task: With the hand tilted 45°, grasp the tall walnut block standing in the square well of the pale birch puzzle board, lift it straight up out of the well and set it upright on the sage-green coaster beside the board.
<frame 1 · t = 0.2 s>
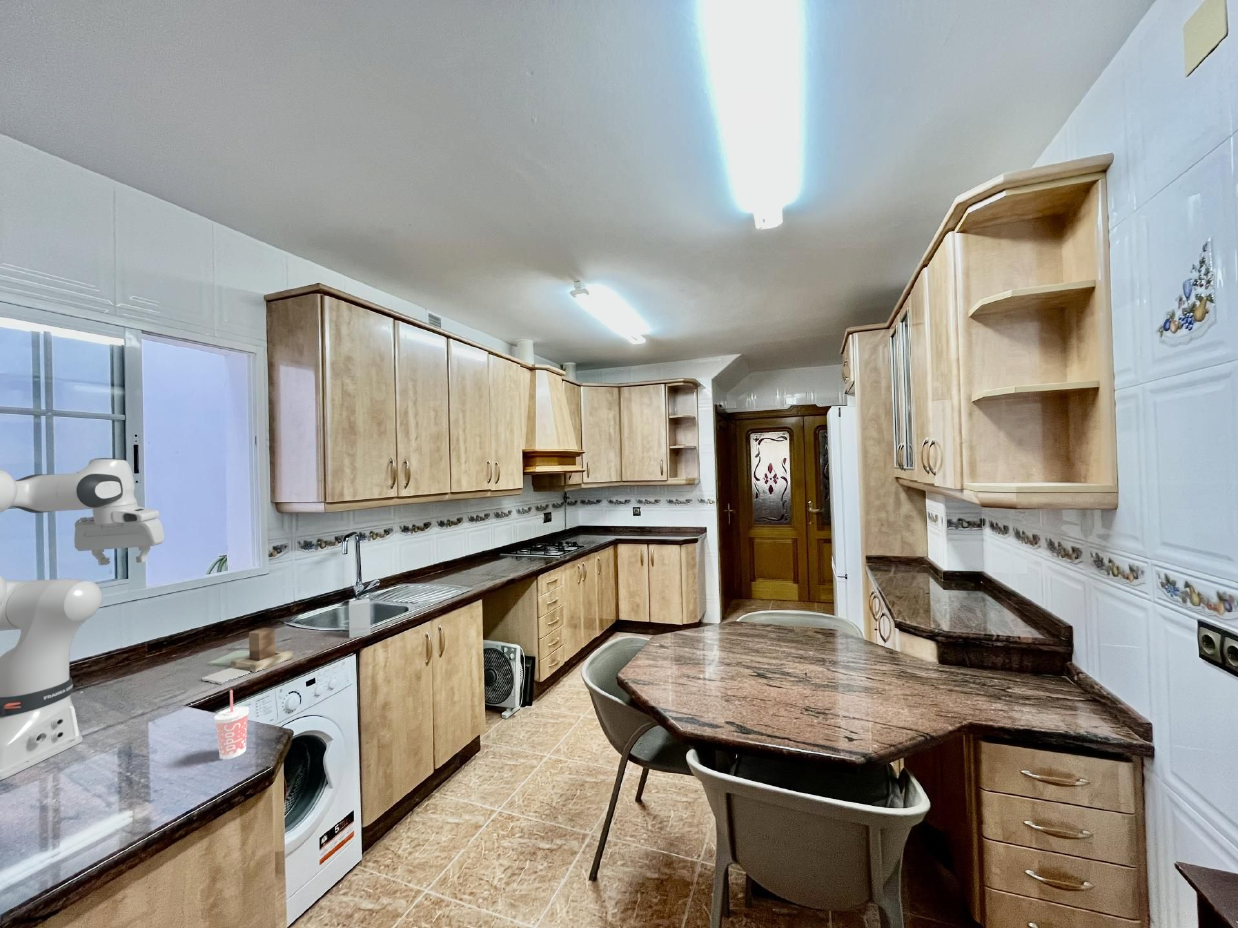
hand: (123, 563, 138), 39 cm above the counter, tool pointing down, fingers open, 8 cm apart
supplement box: (360, 634, 189), on the counter
beverage cup: (233, 754, 108), on the counter
coaster: (237, 658, 167), on the counter
puzzle board: (262, 663, 161), on the counter
walnut block: (262, 647, 161), in the puzzle board
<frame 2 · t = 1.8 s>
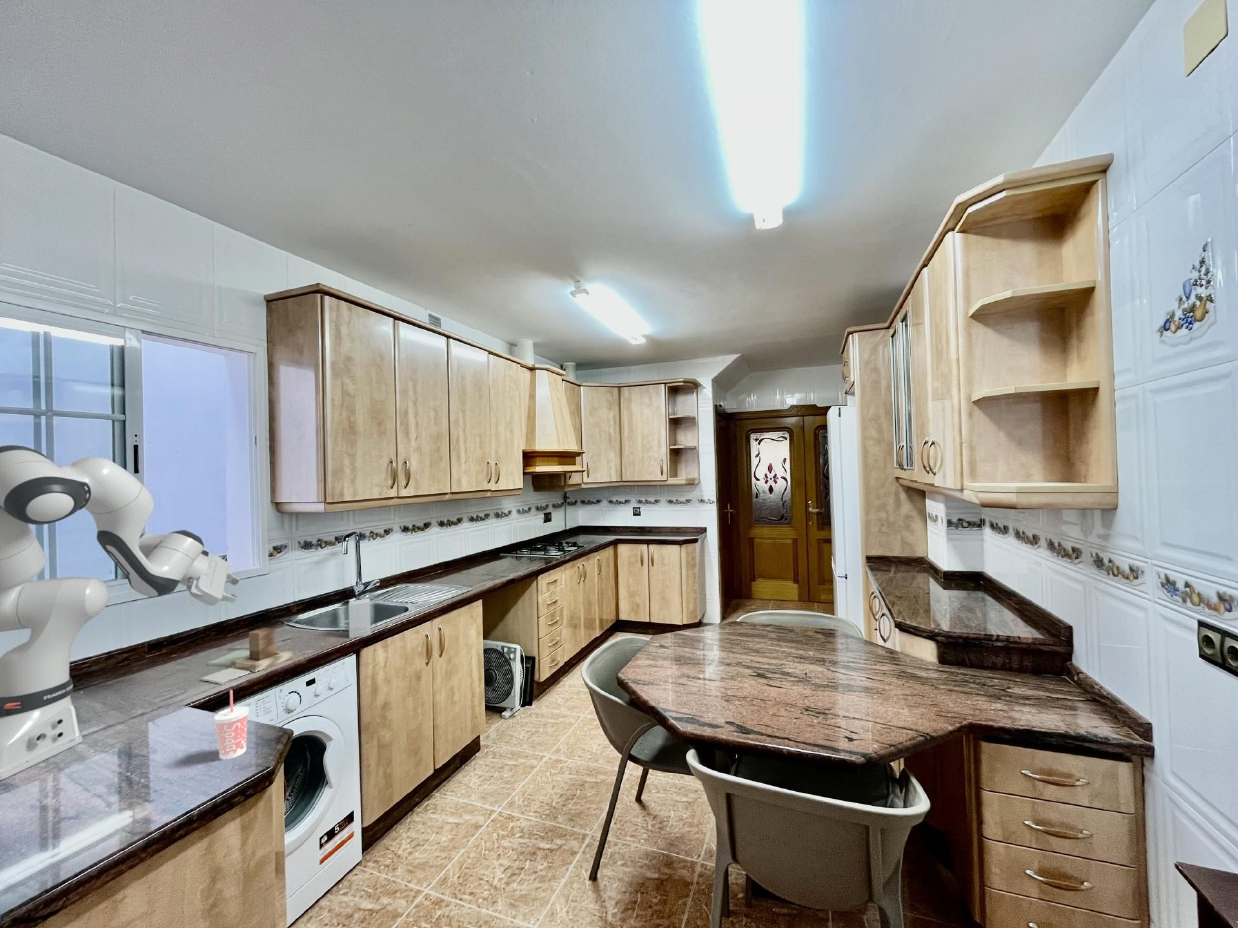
hand: (236, 591, 155), 26 cm above the counter, tool tilted 50°, fingers open, 8 cm apart
nothing on the counter moved.
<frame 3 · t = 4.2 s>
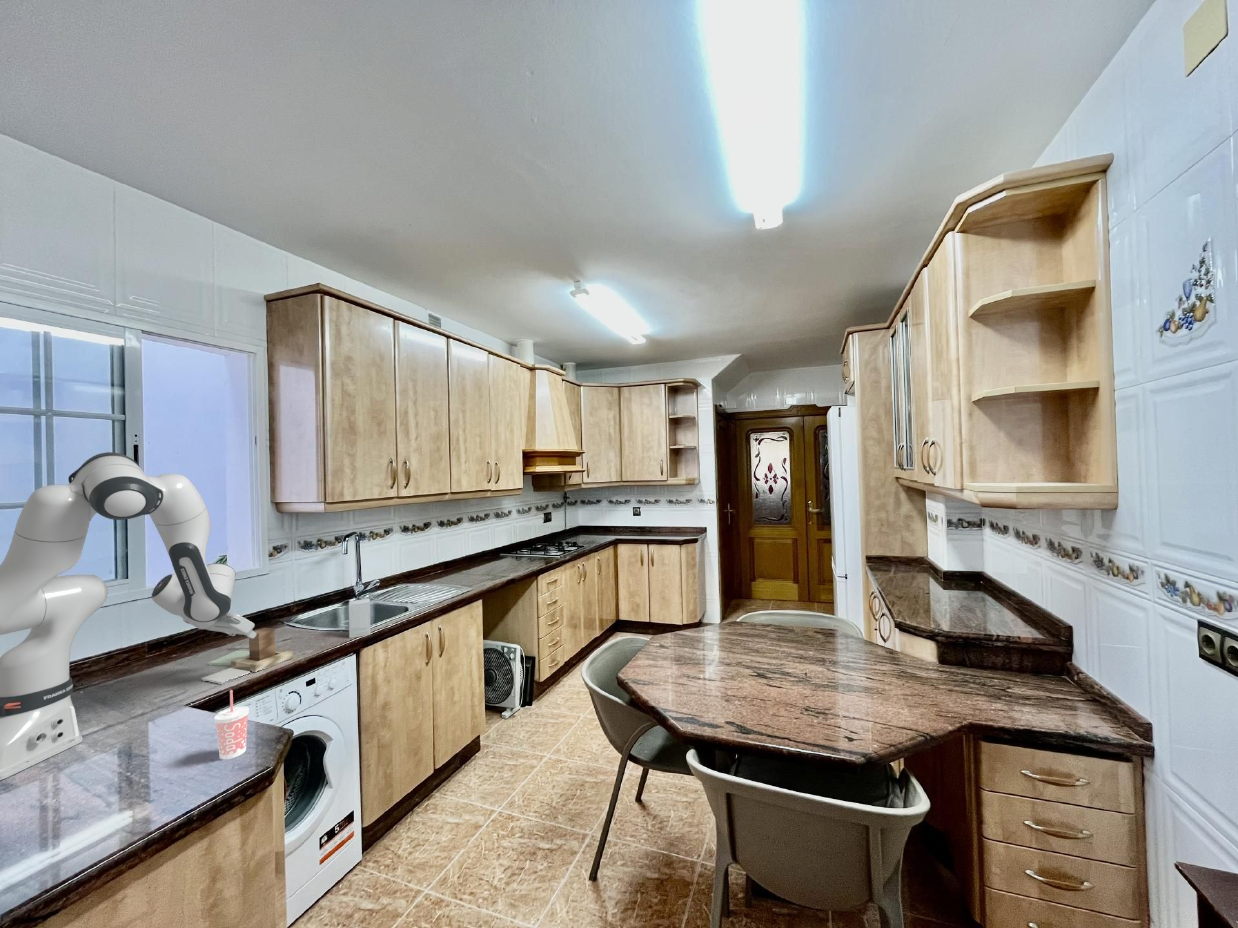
hand: (244, 634, 156), 12 cm above the counter, tool tilted 45°, fingers open, 8 cm apart
nothing on the counter moved.
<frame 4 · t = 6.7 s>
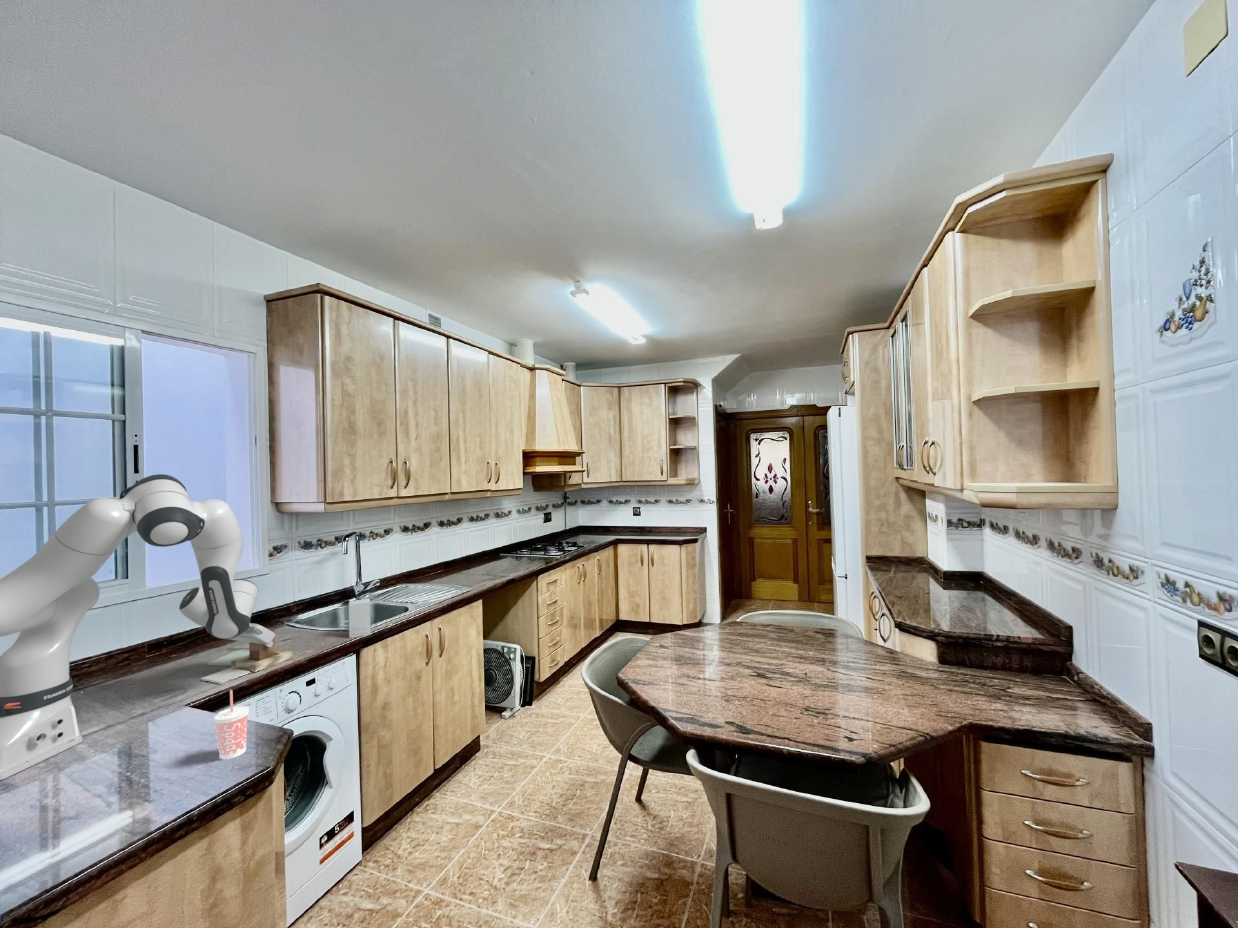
hand: (264, 644, 162), 6 cm above the counter, tool tilted 45°, fingers closed on walnut block, 5 cm apart
walnut block: (262, 647, 161), in the puzzle board, touching gripper
everything else where it was.
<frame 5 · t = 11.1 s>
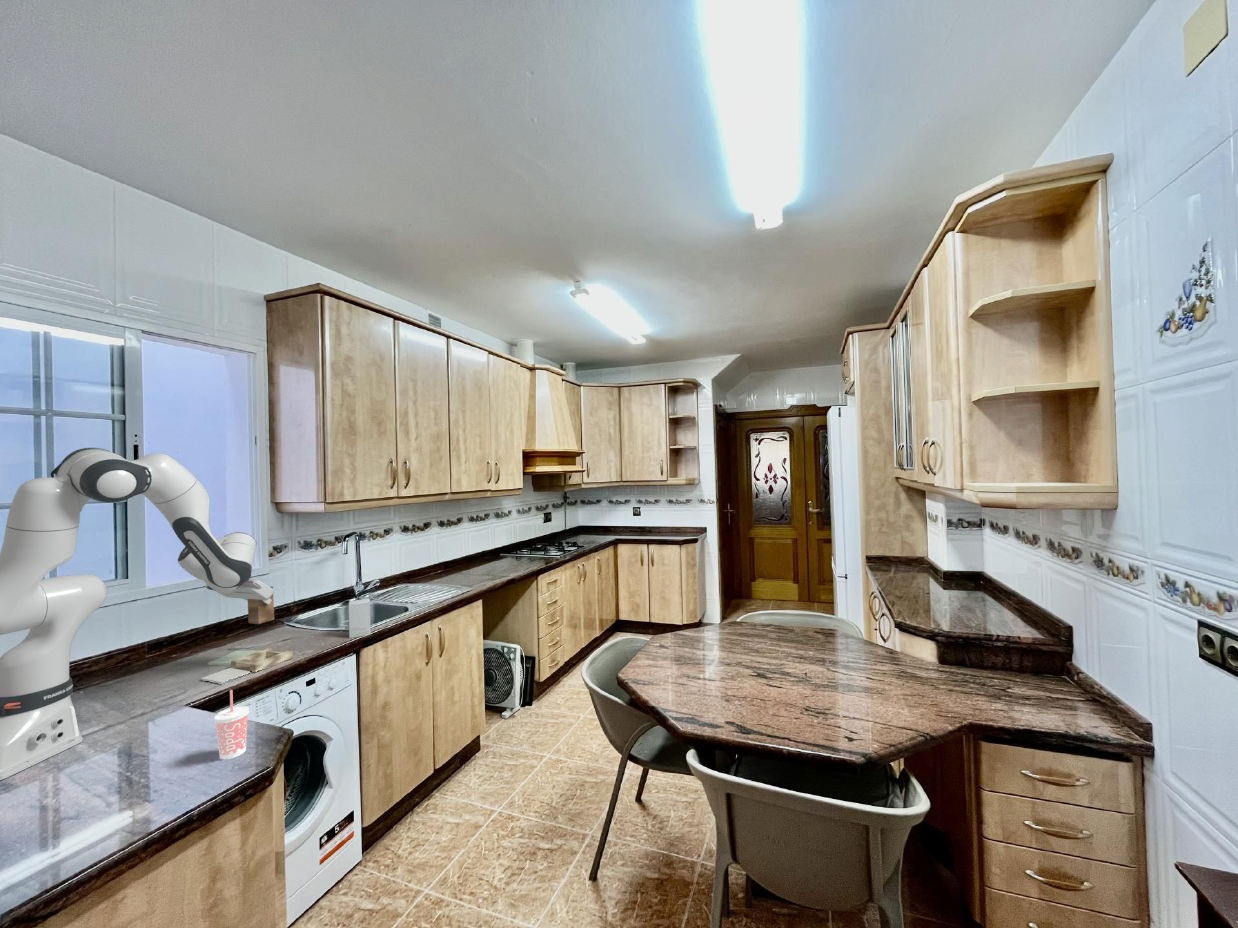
hand: (262, 601, 162), 20 cm above the counter, tool tilted 45°, fingers closed on walnut block, 5 cm apart
walnut block: (260, 604, 162), point 20 cm above the counter, touching gripper
everything else where it was.
when the fingers open (9 cm above the counter, at t = 15.4 s): walnut block drops 1 cm, resting on coaster.
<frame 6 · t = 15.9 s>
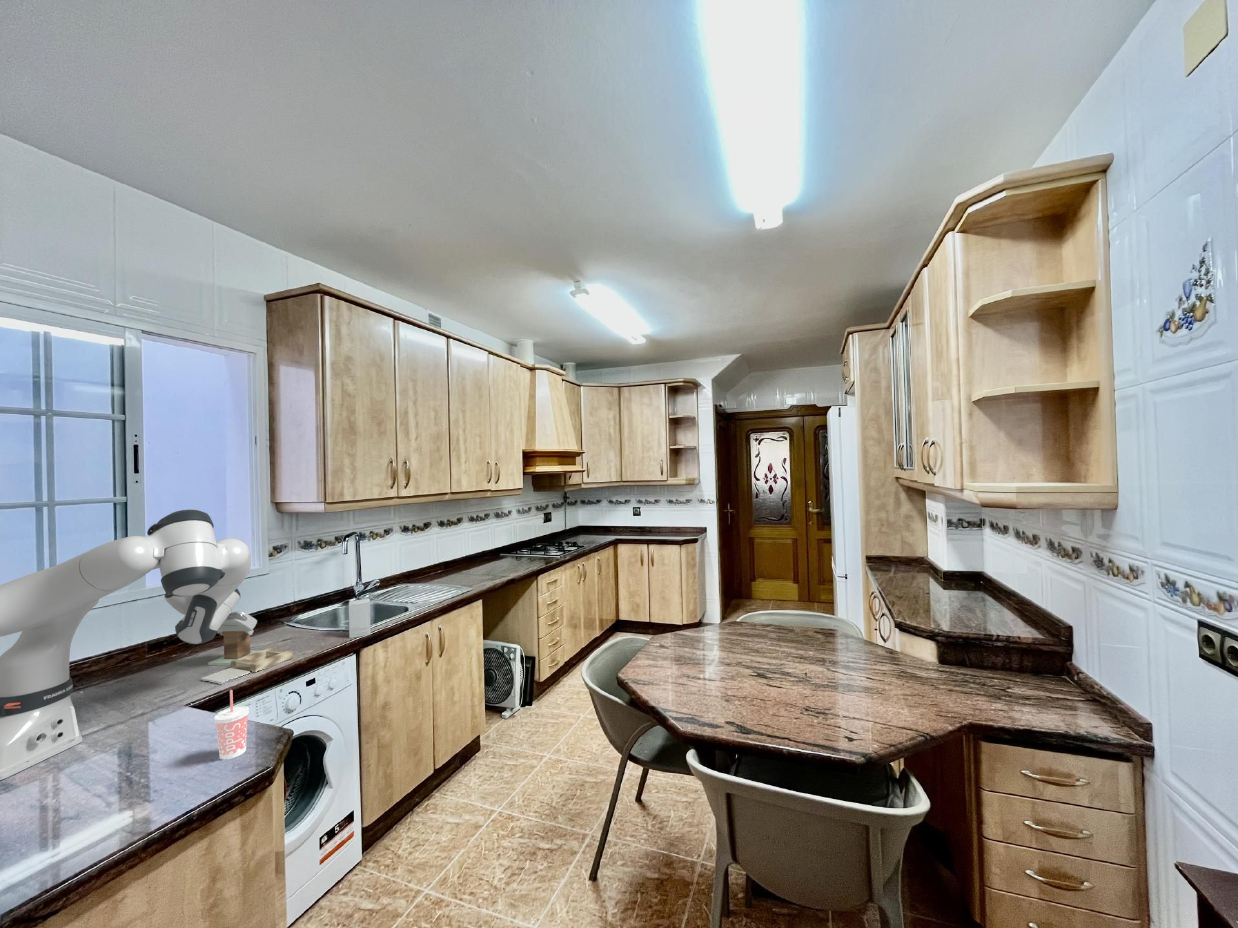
hand: (238, 633, 168), 9 cm above the counter, tool tilted 45°, fingers open, 8 cm apart
walnut block: (237, 640, 167), on the coaster, point 6 cm above the counter
everything else where it was.
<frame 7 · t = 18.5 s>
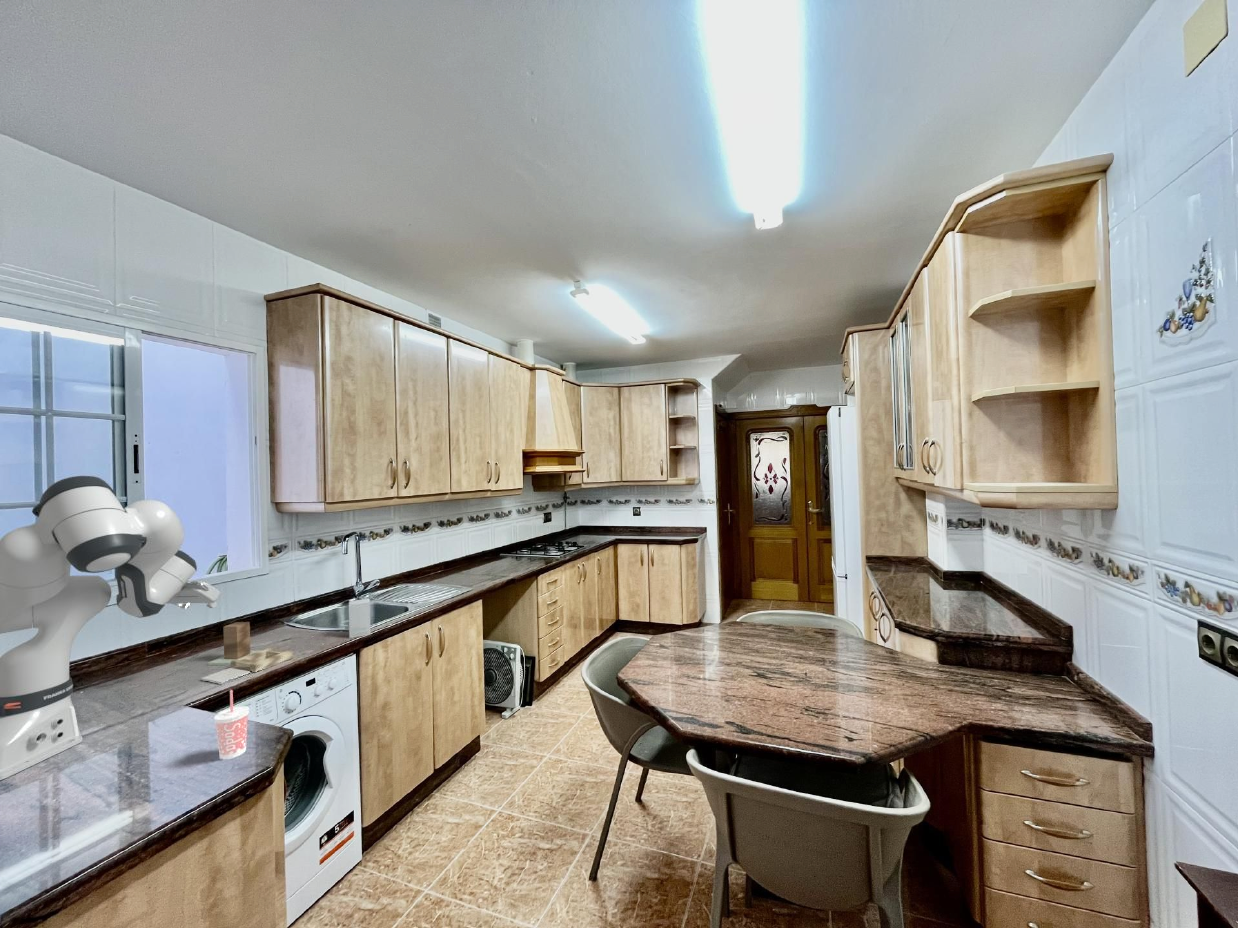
hand: (200, 606, 155), 22 cm above the counter, tool tilted 45°, fingers open, 8 cm apart
nothing on the counter moved.
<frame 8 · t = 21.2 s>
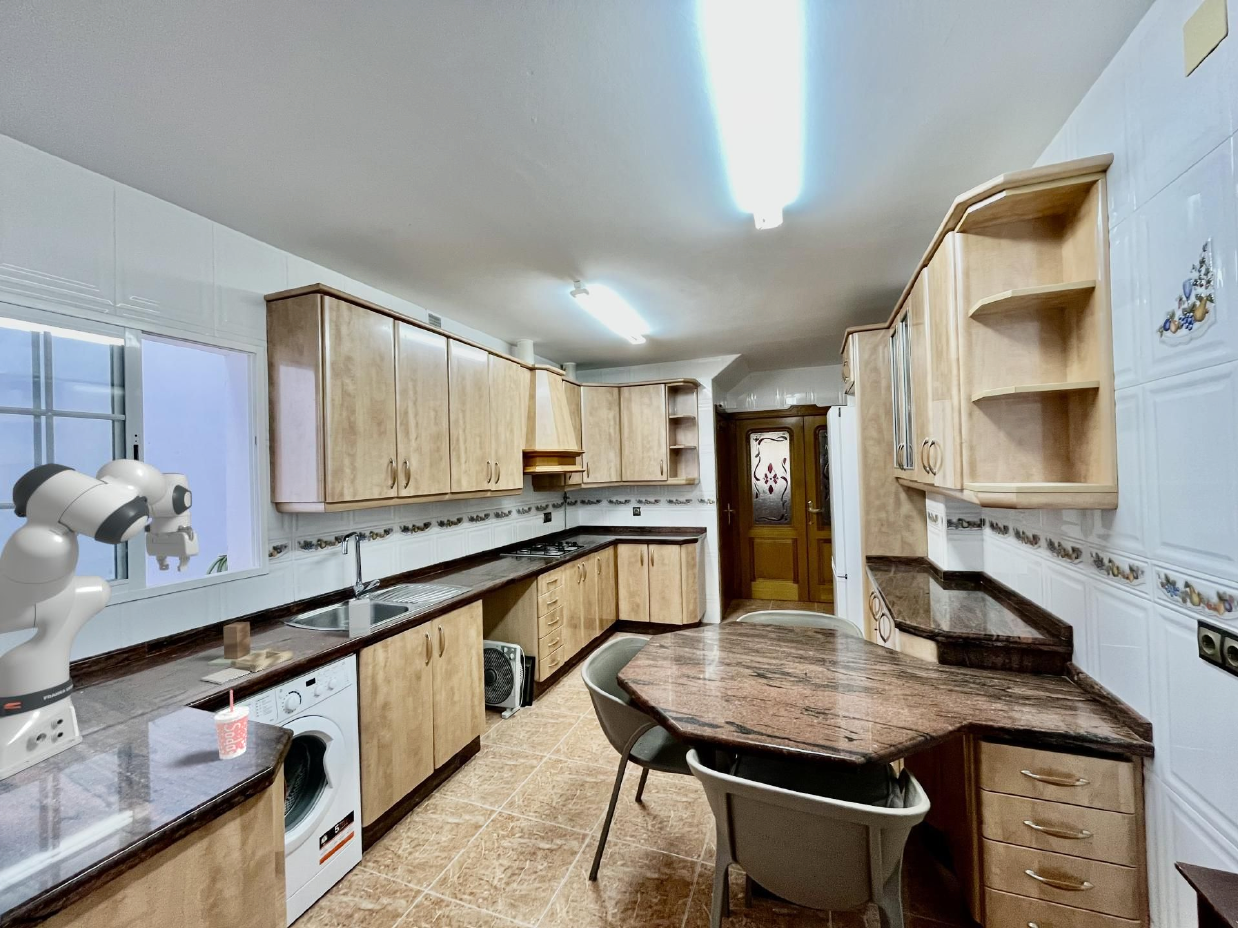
hand: (173, 570, 150), 34 cm above the counter, tool pointing down, fingers open, 8 cm apart
nothing on the counter moved.
at the end: walnut block inside the target area on the coaster (0.1 cm from its centre), point 6.3 cm above the coaster's base; walnut block tilted 0°; the gripper is holding nothing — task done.
